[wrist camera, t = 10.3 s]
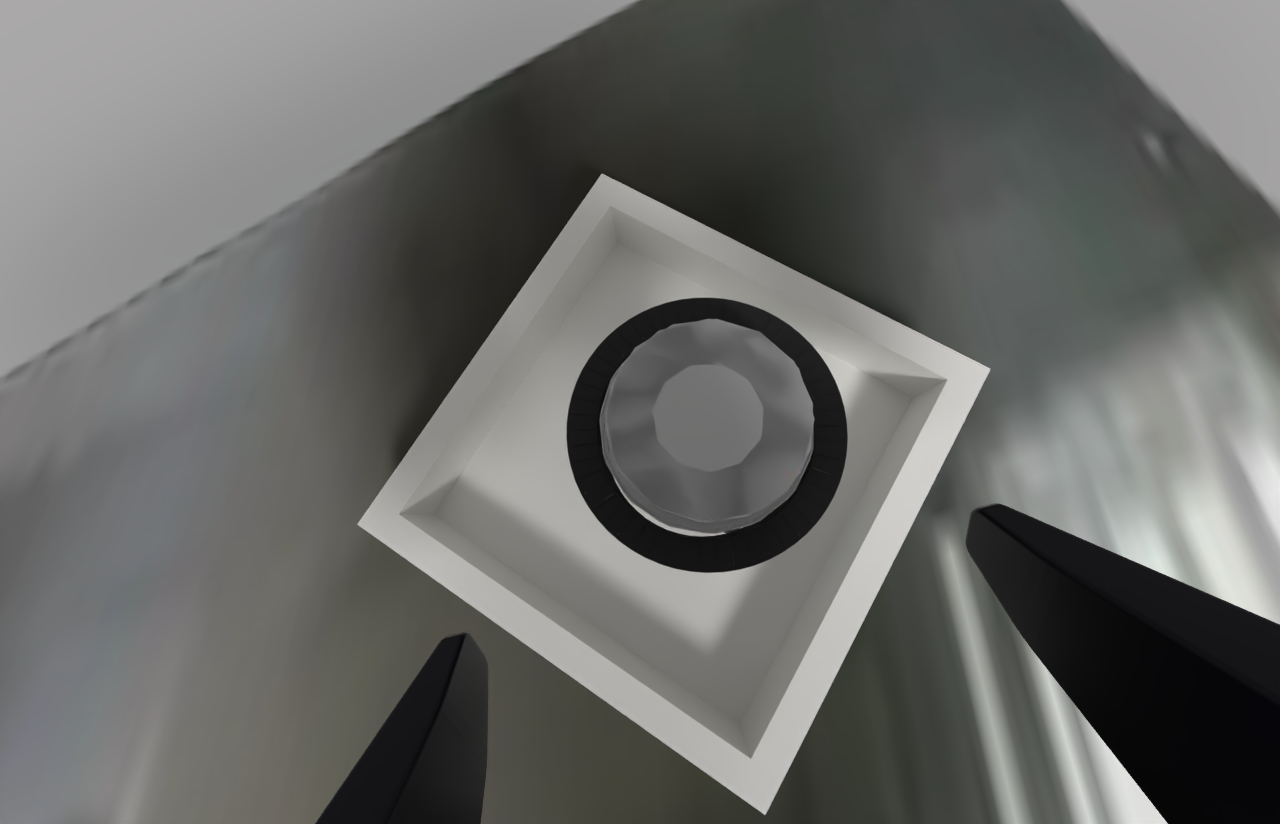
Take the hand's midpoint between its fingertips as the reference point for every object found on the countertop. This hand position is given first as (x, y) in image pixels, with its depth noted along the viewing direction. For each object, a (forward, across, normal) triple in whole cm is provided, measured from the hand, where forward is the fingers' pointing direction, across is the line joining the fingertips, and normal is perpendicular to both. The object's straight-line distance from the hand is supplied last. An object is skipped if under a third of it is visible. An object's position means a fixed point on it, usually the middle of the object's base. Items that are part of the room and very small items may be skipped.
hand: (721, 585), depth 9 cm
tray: (+9, 0, +4) cm, 10 cm away
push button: (+9, 0, +4) cm, 10 cm away
